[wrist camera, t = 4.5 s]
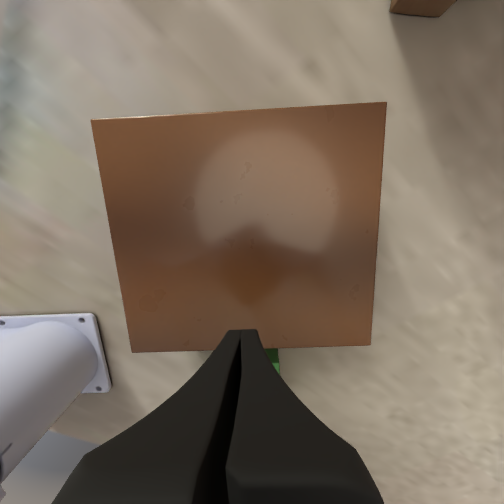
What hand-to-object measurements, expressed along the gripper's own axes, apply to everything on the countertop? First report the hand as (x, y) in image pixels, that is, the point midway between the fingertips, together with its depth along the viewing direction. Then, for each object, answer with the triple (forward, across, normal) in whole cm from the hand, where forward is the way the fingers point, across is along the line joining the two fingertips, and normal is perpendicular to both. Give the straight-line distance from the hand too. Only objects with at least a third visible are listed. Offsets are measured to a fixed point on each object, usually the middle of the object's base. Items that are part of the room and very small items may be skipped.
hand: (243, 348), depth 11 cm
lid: (+4, 0, -4) cm, 6 cm away
